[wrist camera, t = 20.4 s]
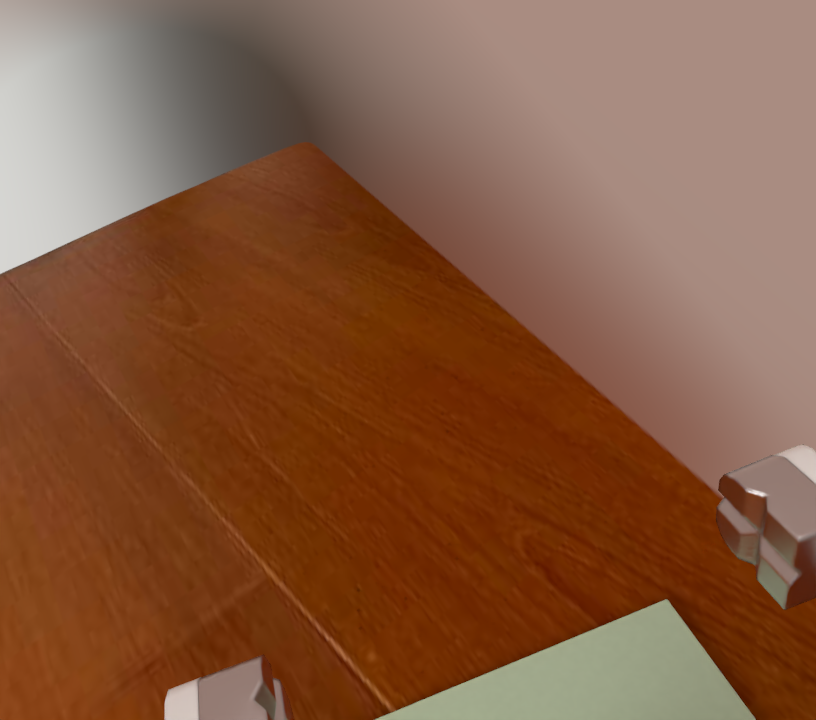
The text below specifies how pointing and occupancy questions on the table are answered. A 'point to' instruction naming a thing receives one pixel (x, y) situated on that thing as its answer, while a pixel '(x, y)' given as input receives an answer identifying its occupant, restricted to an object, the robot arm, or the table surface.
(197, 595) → the table surface
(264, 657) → the robot arm
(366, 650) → the table surface
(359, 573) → the table surface
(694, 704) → the mat
